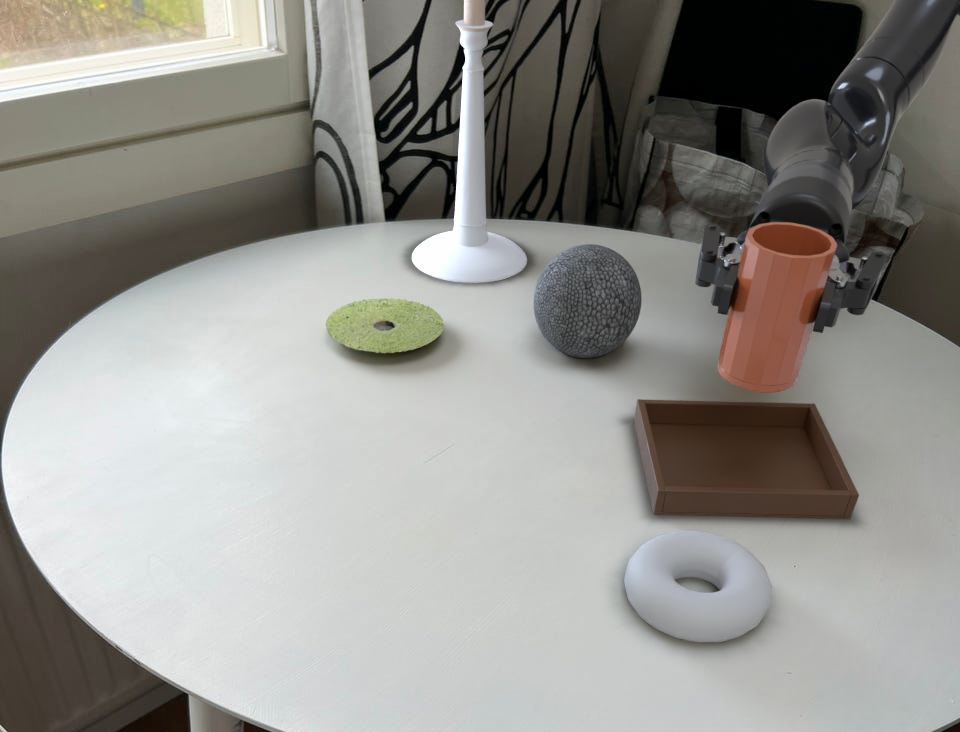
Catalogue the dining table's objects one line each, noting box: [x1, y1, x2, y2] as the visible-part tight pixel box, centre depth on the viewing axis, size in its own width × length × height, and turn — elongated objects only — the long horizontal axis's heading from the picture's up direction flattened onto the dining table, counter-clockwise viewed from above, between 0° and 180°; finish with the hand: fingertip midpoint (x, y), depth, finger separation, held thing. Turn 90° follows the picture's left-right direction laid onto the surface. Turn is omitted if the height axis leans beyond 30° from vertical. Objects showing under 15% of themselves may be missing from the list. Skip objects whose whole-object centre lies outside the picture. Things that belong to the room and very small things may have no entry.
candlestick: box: [411, 0, 528, 284], centre depth 95 cm, size 13×13×30 cm
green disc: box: [325, 297, 444, 354], centre depth 91 cm, size 11×11×2 cm
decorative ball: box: [533, 243, 642, 359], centre depth 88 cm, size 10×10×10 cm
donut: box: [623, 530, 773, 643], centre depth 65 cm, size 10×4×10 cm
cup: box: [717, 222, 837, 393], centre depth 68 cm, size 6×6×10 cm
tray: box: [633, 398, 860, 520], centre depth 77 cm, size 15×13×3 cm
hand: (772, 310), depth 66 cm, fingers closed on cup, 6 cm apart
